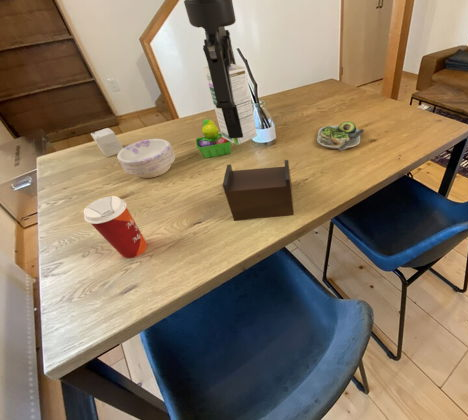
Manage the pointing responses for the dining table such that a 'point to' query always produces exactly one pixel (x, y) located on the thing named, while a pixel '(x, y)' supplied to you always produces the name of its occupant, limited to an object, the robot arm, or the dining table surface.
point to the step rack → (259, 192)
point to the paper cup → (116, 225)
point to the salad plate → (339, 136)
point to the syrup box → (241, 102)
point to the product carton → (107, 142)
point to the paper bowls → (147, 158)
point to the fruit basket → (212, 141)
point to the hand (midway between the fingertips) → (238, 127)
